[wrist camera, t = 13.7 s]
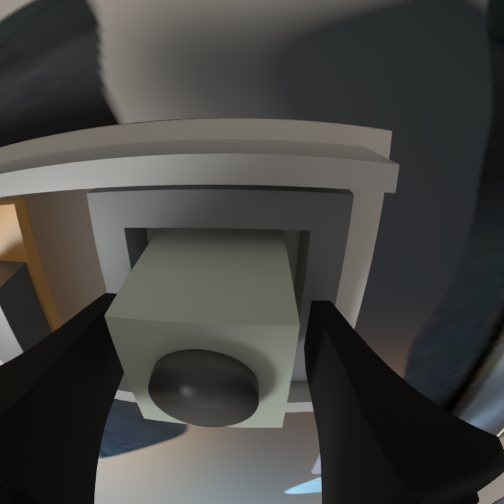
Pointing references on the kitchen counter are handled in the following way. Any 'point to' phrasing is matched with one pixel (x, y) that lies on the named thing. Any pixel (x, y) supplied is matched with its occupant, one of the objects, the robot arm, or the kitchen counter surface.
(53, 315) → the shutter
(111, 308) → the plug
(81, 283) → the socket panel
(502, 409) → the kitchen counter surface
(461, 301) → the kitchen counter surface
